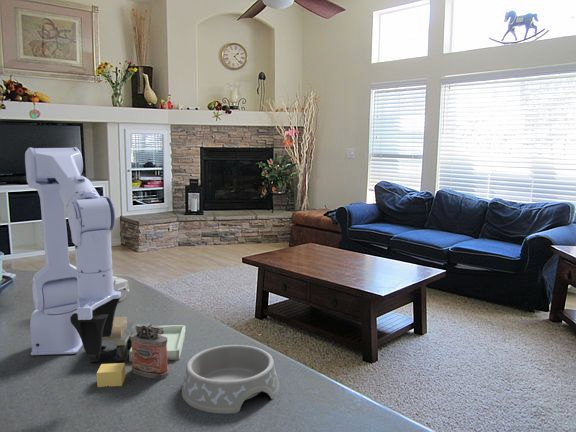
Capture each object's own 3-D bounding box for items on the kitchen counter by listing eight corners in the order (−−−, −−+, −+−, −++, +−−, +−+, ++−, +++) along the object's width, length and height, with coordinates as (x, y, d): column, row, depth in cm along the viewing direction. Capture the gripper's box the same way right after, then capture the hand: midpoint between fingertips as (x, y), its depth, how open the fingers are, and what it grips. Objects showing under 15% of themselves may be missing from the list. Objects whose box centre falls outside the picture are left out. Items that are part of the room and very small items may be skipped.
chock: (97, 387, 93) (96, 372, 93) (102, 378, 97) (101, 364, 96) (121, 386, 94) (121, 371, 93) (125, 377, 97) (124, 363, 97)
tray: (129, 361, 104) (128, 352, 103) (141, 334, 118) (141, 326, 117) (179, 359, 105) (179, 350, 104) (185, 332, 119) (185, 324, 118)
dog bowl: (166, 384, 95) (165, 357, 94) (247, 359, 106) (247, 334, 105) (209, 426, 82) (208, 395, 81) (297, 391, 93) (297, 364, 92)
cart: (87, 365, 102) (85, 333, 101) (101, 343, 113) (99, 314, 112) (125, 363, 103) (123, 332, 102) (135, 341, 114) (134, 313, 113)
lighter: (128, 372, 99) (125, 324, 97) (139, 365, 102) (136, 318, 100) (162, 380, 96) (160, 330, 94) (172, 372, 99) (170, 324, 97)
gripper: (108, 280, 78) (113, 362, 80) (127, 257, 92) (131, 327, 95) (61, 281, 77) (67, 364, 80) (88, 258, 92) (92, 329, 94)
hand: (99, 344), depth 87 cm, fingers open, 7 cm apart
